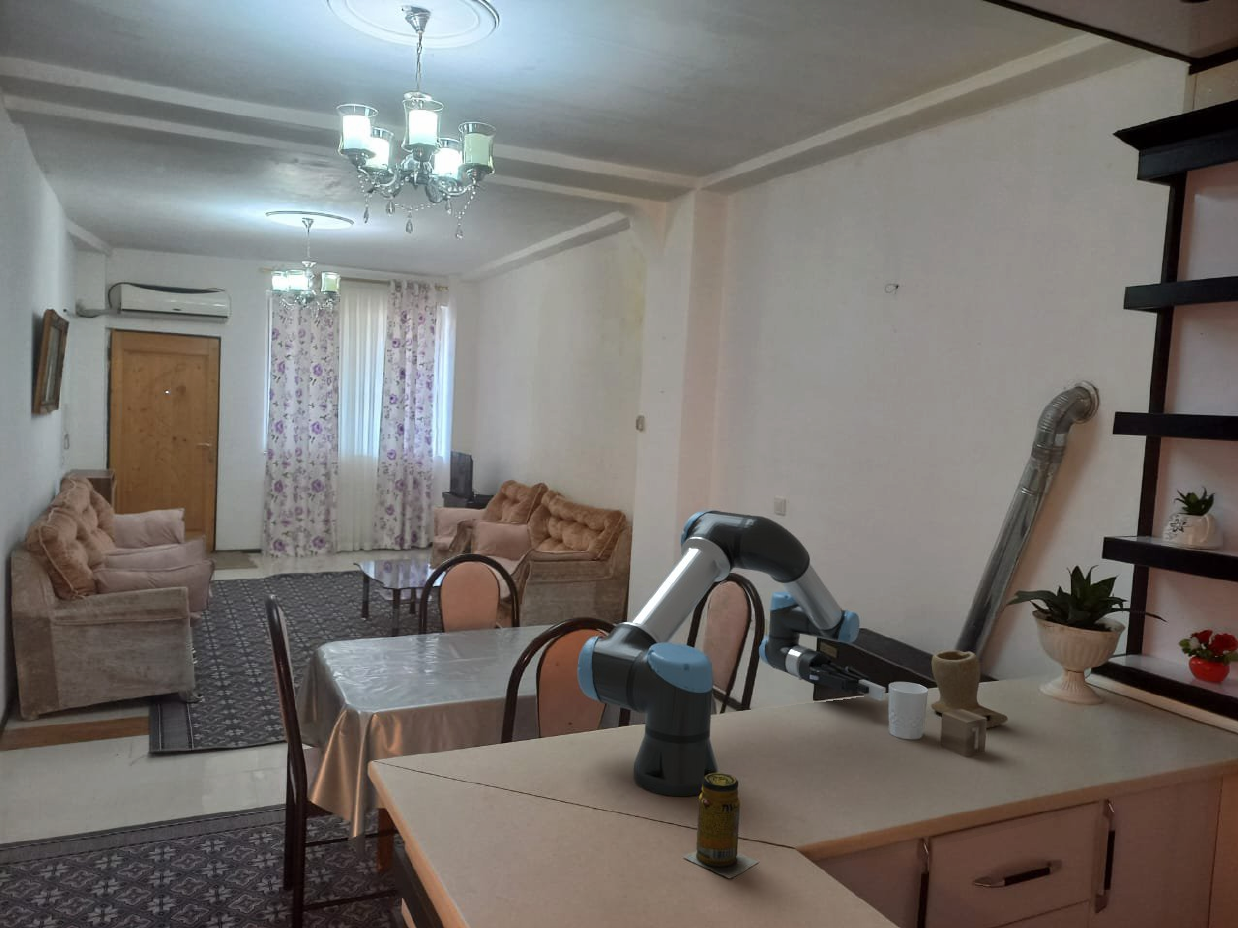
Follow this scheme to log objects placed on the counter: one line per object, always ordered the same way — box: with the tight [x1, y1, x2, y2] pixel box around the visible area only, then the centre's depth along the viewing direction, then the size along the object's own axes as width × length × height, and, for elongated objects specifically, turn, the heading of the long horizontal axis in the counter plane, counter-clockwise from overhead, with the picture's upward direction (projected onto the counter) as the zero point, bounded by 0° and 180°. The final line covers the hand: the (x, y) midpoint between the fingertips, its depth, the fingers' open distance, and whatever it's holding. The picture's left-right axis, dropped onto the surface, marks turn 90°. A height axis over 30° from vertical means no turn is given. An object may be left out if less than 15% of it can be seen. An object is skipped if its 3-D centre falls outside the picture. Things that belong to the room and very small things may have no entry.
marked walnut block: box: [939, 709, 987, 758], centre depth 180 cm, size 6×6×7 cm
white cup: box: [887, 681, 929, 740], centre depth 187 cm, size 8×8×10 cm
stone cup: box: [930, 649, 1009, 729], centre depth 198 cm, size 15×12×15 cm
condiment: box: [683, 772, 759, 879], centre depth 131 cm, size 7×8×12 cm
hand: (882, 694), depth 193 cm, fingers closed
